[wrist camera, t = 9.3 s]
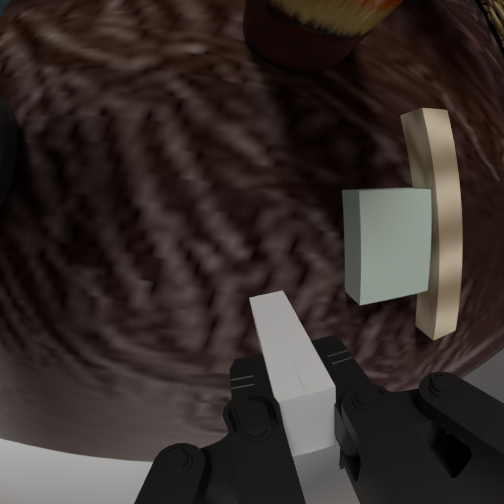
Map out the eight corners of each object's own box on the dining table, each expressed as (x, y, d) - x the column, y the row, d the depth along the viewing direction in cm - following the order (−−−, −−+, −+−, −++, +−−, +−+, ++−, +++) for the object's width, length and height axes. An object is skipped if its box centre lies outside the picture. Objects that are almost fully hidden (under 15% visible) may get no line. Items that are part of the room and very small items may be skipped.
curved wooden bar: (400, 115, 24) (422, 107, 20) (424, 116, 24) (447, 110, 20) (415, 325, 29) (433, 340, 25) (436, 317, 29) (455, 330, 26)
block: (340, 190, 25) (359, 190, 22) (407, 187, 26) (430, 189, 22) (343, 290, 28) (359, 305, 24) (406, 278, 28) (427, 290, 24)
